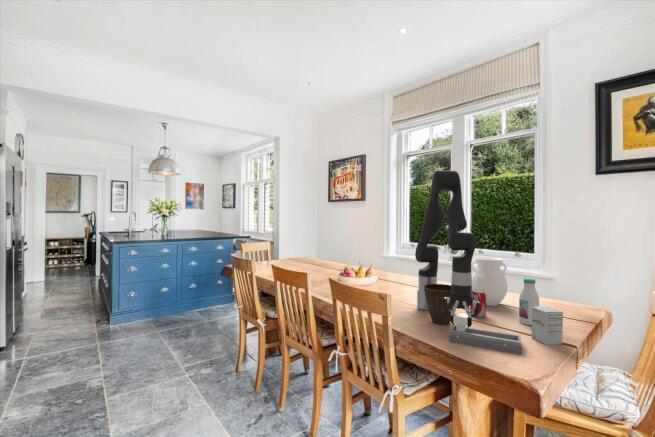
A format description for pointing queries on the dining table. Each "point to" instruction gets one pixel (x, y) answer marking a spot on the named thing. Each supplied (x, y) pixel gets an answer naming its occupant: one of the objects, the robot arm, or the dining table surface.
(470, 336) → the fader console
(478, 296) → the soda can
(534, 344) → the dining table surface
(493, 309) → the dining table surface
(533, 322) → the supplement box
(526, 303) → the milk bottle
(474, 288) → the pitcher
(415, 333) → the dining table surface
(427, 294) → the plant pot
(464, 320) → the fader knob
